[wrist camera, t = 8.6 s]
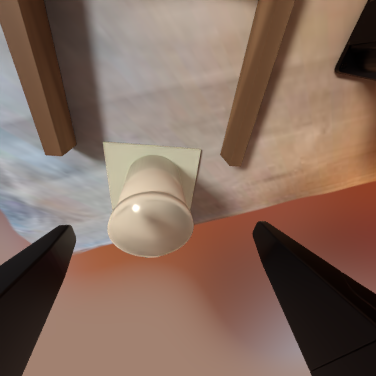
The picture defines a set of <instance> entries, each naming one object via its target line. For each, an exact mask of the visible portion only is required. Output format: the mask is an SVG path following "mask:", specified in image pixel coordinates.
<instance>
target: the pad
mask: <svg viewBox="0 0 376 376" xmlns="http://www.w3.org/2000/svg"><path fill="white" fill-rule="evenodd" d="M103 148H104V155H105V162H106V169H107V176H108V183H109V190H110V197H111V204H112V210H114V208H115V207H116V206H117V204H118V201H119V198H120V195H121V192H122V188H123V185H124V182H125V179H126V176H127V173H128V170H129V168H130V166H131V165H132V163H133V162H134V161H136V160H137V159H139V158H140V157H143V156H147V155H159V156H163V157H165V158H167V159H169V160H170V161H172V162H173V163H174V164H175V165H176V167H177V169H178V171H179V174H180V179H181V183H182V187H183V191H184V196H185V200H186V204H187V206H188V208H189V209H190V208H191V203H192V197H193V192H194V186H195V180H196V175H197V169H198V164H199V158H200V152H201V149H194V148H181V147H168V146H155V145H142V144H129V143H116V142H103Z"/></svg>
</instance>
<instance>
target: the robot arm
mask: <svg viewBox="0 0 376 376" xmlns="http://www.w3.org/2000/svg"><path fill="white" fill-rule="evenodd" d="M342 65H343V67H342ZM341 67H342V68H341ZM335 71H336V72H337V73H342V74H347V75H351V76H356V77H361V78H366V79H371V80H375V81H376V0H368V1H367V3H366V5H365V7H364V9H363V12H362V14H361V16H360V18H359V20H358V22H357V24H356V26H355V28H354V30H353V32H352V34H351V36H350V38H349V40H348V42H347V44H346V46H345V48H344V50H343V52H342V54H341V56H340V58H339V61H338V63H337V65H336V67H335ZM253 238H254V241H255V244H256V247H257V250H258V253H259V256H260V259H261V262H262V264H263V267H264V269H265V271H266V274H267V276H268V278H269V280H270V283H271V285H272V287H273V289H274V292H275V294H276V296H277V298H278V301H279V303H280V305H281V307H282V309H283V312H284V314H285V316H286V319H287V321H288V323H289V325H290V327H291V330H292V332H293V334H294V336H295V339H296V341H297V343H298V345H299V348H300V350H301V352H302V355H303V357H304V359H305V361H306V364H307V366H308V368H309V370H310V373H311V375H312V376H376V294H375V293H374V292H372V291H370V290H369V289H367V288H366V287H364V286H362V285H361V284H359V283H358V282H356V281H355V280H353V279H352V278H350V277H349V276H347V275H346V274H344V273H342V272H341V271H340V270H338V269H337V268H335V267H334V266H332V265H331V264H329V263H328V262H326V261H325V260H323V259H322V258H320V257H319V256H317V255H316V254H314V253H312V252H311V251H310V250H308V249H307V248H305V247H304V246H302V245H301V244H299V243H298V242H296V241H295V240H293V239H292V238H290V237H289V236H287V235H286V234H284V233H283V232H281V231H280V230H278V229H277V228H275V227H274V226H272V225H271V224H269V223H268V222H266V221H259V222H257V224H256V226H255V228H254V230H253ZM75 243H76V236H75V233H74V231H73V228H72V226H71V225H59V226H58V227H56V228H55V229H53V230H52V231H50V232H49V233H47V234H46V235H44V236H43V237H41V238H40V239H38V240H37V241H36V242H34V243H33V244H31V245H30V246H28V247H27V248H25V249H24V250H22V251H21V252H19V253H18V254H17V255H15V256H14V257H12V258H11V259H9V260H8V261H6V262H5V263H3V264H2V265H0V376H22V374H23V372H24V370H25V367H26V365H27V363H28V361H29V358H30V356H31V354H32V351H33V349H34V347H35V345H36V342H37V340H38V337H39V335H40V333H41V331H42V328H43V326H44V324H45V322H46V319H47V317H48V315H49V312H50V310H51V308H52V305H53V303H54V301H55V299H56V296H57V294H58V292H59V289H60V287H61V285H62V283H63V280H64V278H65V275H66V272H67V269H68V266H69V263H70V259H71V256H72V253H73V250H74V247H75Z"/></svg>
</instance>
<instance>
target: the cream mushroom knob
mask: <svg viewBox="0 0 376 376" xmlns="http://www.w3.org/2000/svg"><path fill="white" fill-rule="evenodd" d="M193 228H194V223H193V219H192V215H191V212H190V209H189V208H188V206H187V204H186V200H185V196H184V191H183V187H182V183H181V179H180V174H179V171H178V169H177V167H176V165H175V164H174V163H173V162H172V161H170V160H169V159H167V158H165V157H163V156H159V155H147V156H143V157H140V158H139V159H137V160H136V161H134V162H133V163H132V165H131V166H130V168H129V170H128V173H127V176H126V179H125V182H124V185H123V188H122V192H121V195H120V198H119V201H118V204H117V206H116V207H115V208H114V210H113V211H112V213H111V216H110V219H109V222H108V235H109V237H110V239H111V241H112V242H113V243H114V244H115V245H116V246H117V247H118V248H119V249H121V250H123V251H124V252H127V253H129V254H132V255H136V256H142V257H146V258H148V257H159V256H162V255H166V254H169V253H171V252H174V251H176V250H177V249H179V248H181V247H182V246H183V245H184V244H185V243H186V242H187V241H188V240H189V239H190V237H191V235H192V233H193Z"/></svg>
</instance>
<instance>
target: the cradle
mask: <svg viewBox="0 0 376 376" xmlns="http://www.w3.org/2000/svg"><path fill="white" fill-rule="evenodd" d="M294 2H295V0H258V4H257V8H256V12H255V17H254V21H253V25H252V29H251V33H250V37H249V41H248V45H247V49H246V53H245V57H244V61H243V65H242V69H241V73H240V77H239V81H238V85H237V89H236V93H235V98H234V102H233V106H232V110H231V114H230V118H229V122H228V126H227V130H226V134H225V138H224V142H223V146H222V150H221V154H220V155H221V156H222V157H223V158H224V160H225V161H226V162H227V163H228V164H229V166H241V164H242V161H243V157H244V154H245V151H246V148H247V145H248V142H249V139H250V136H251V133H252V130H253V127H254V124H255V121H256V118H257V115H258V112H259V109H260V106H261V103H262V100H263V96H264V93H265V90H266V87H267V84H268V81H269V78H270V75H271V72H272V69H273V66H274V63H275V60H276V57H277V54H278V51H279V48H280V45H281V42H282V39H283V36H284V32H285V29H286V26H287V23H288V20H289V17H290V14H291V11H292V8H293V5H294ZM0 24H1V27H2V29H3V32H4V35H5V38H6V41H7V44H8V47H9V50H10V53H11V56H12V59H13V62H14V64H15V67H16V70H17V73H18V76H19V79H20V82H21V85H22V88H23V91H24V94H25V97H26V99H27V102H28V105H29V108H30V111H31V114H32V117H33V120H34V123H35V126H36V129H37V132H38V134H39V137H40V140H41V143H42V146H43V149H44V152H45V155H51V156H63V155H64V154H66V153H67V152H68V151H69V150H70V149H72V148H73V147H74V146H75V145H77V143H76V139H75V135H74V130H73V126H72V122H71V117H70V113H69V109H68V104H67V100H66V95H65V91H64V87H63V82H62V78H61V74H60V69H59V65H58V61H57V56H56V52H55V47H54V43H53V39H52V34H51V30H50V26H49V21H48V17H47V13H46V8H45V4H44V0H0Z"/></svg>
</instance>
